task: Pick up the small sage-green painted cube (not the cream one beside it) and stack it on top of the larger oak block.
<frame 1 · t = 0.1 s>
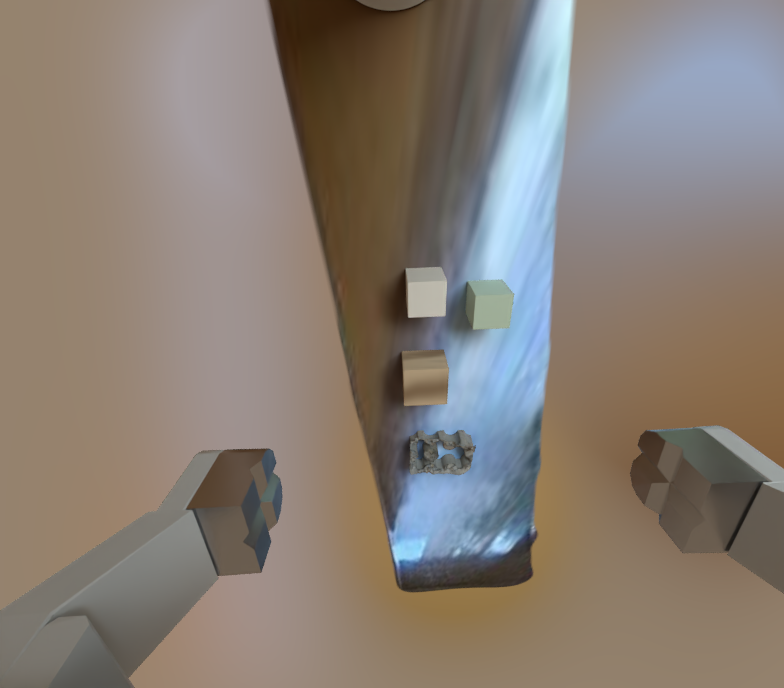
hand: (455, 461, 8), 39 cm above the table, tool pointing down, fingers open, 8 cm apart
oak block: (422, 367, 54), on the table
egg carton: (439, 443, 62), on the table
green cube: (483, 296, 48), on the table
cream cube: (423, 284, 47), on the table
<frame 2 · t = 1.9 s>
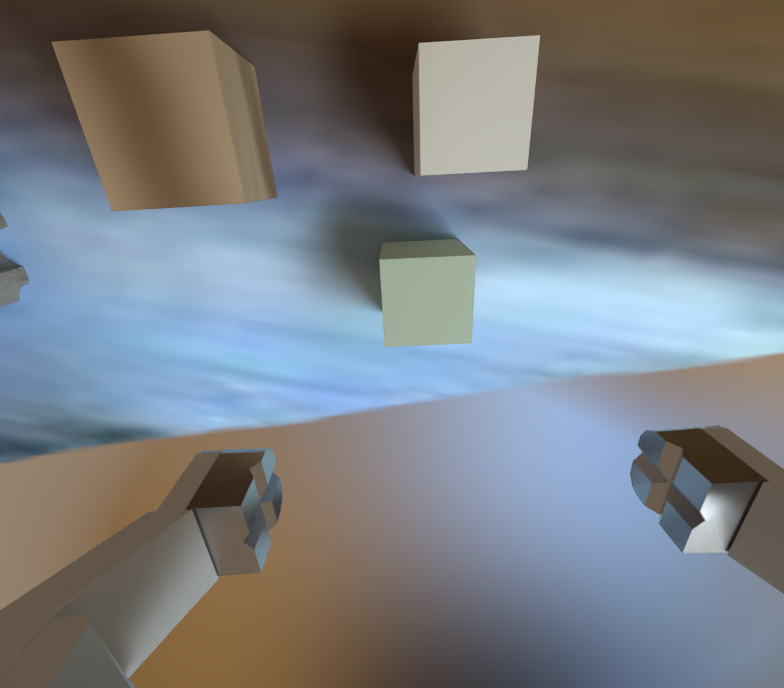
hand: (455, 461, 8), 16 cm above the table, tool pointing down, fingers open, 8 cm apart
oak block: (211, 139, 19), on the table
green cube: (420, 277, 22), on the table
cream cube: (456, 125, 19), on the table
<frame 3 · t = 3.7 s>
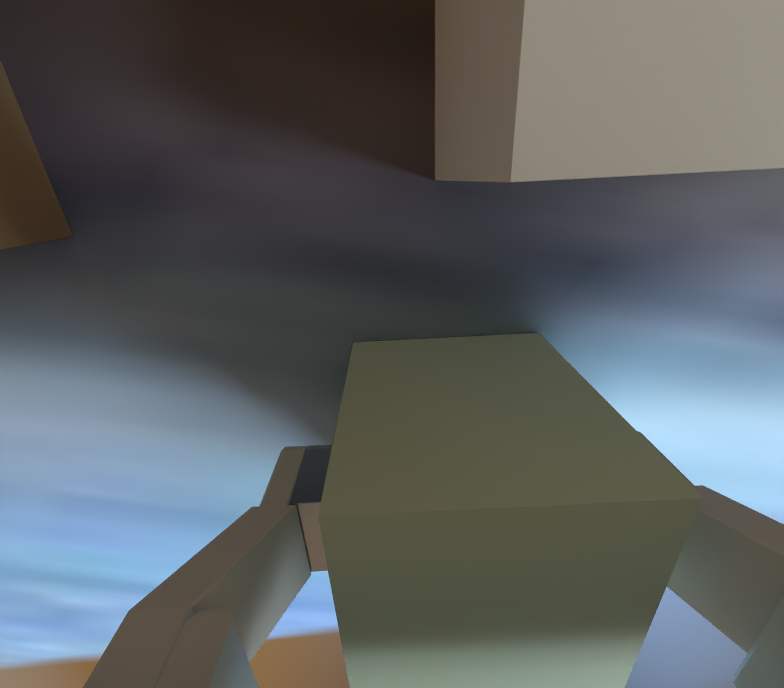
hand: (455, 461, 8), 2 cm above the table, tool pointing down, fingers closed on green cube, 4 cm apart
green cube: (444, 414, 10), on the table, touching gripper
cream cube: (560, 35, 6), on the table
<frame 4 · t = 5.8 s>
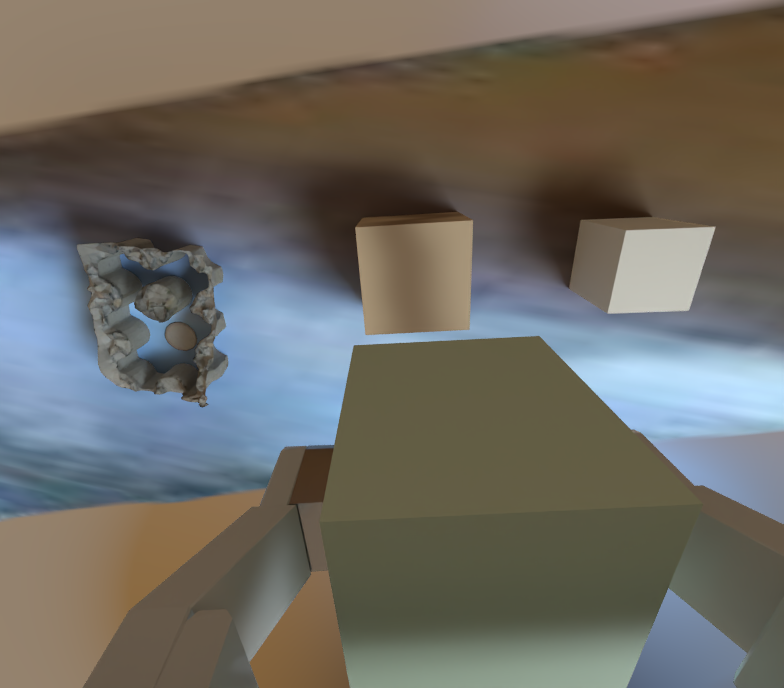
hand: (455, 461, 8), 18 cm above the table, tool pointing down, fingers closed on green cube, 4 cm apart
oak block: (411, 261, 24), on the table
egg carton: (179, 312, 26), on the table
green cube: (445, 417, 10), point 16 cm above the table, touching gripper
cream cube: (608, 254, 24), on the table
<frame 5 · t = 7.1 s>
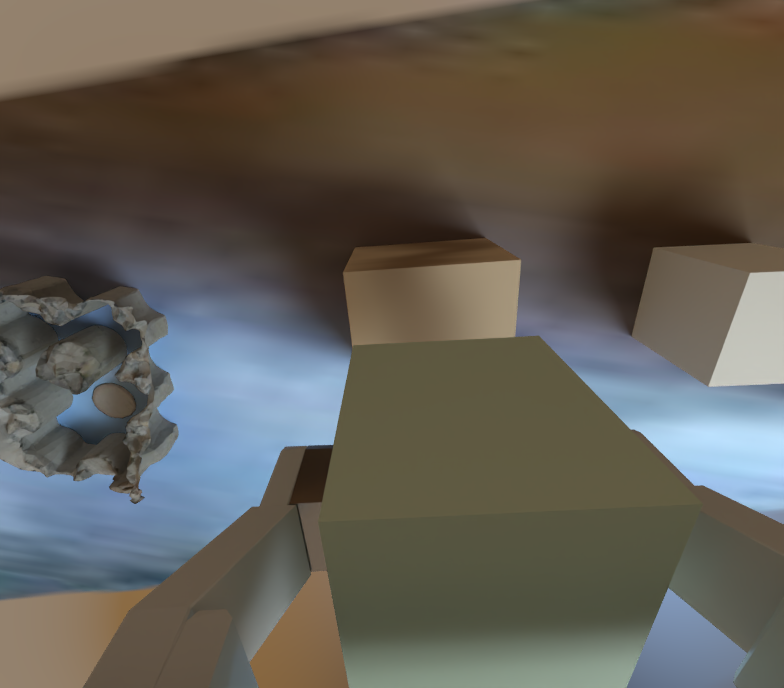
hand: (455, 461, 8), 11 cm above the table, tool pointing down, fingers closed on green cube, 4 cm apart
oak block: (422, 304, 18), on the table
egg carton: (111, 370, 20), on the table
green cube: (444, 417, 10), point 9 cm above the table, touching gripper
cream cube: (687, 291, 18), on the table
when the fingers open (8 cm above the table, at t = 8.0 s): green cube drops 1 cm, resting on oak block.
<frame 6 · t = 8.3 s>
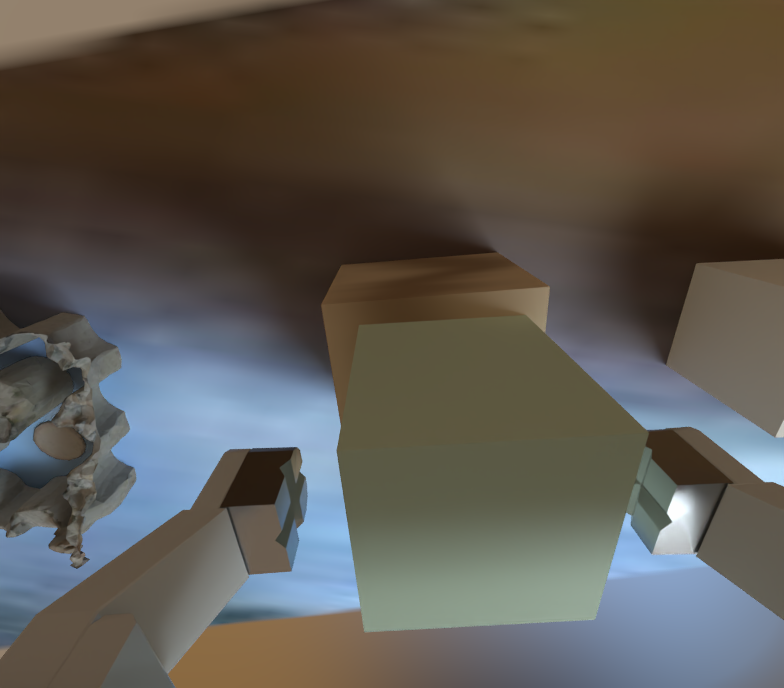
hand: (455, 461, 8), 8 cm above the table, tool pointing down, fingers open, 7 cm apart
oak block: (422, 329, 15), on the table, touching green cube
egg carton: (57, 405, 17), on the table
green cube: (442, 391, 11), point 5 cm above the table, touching oak block
cream cube: (733, 314, 15), on the table
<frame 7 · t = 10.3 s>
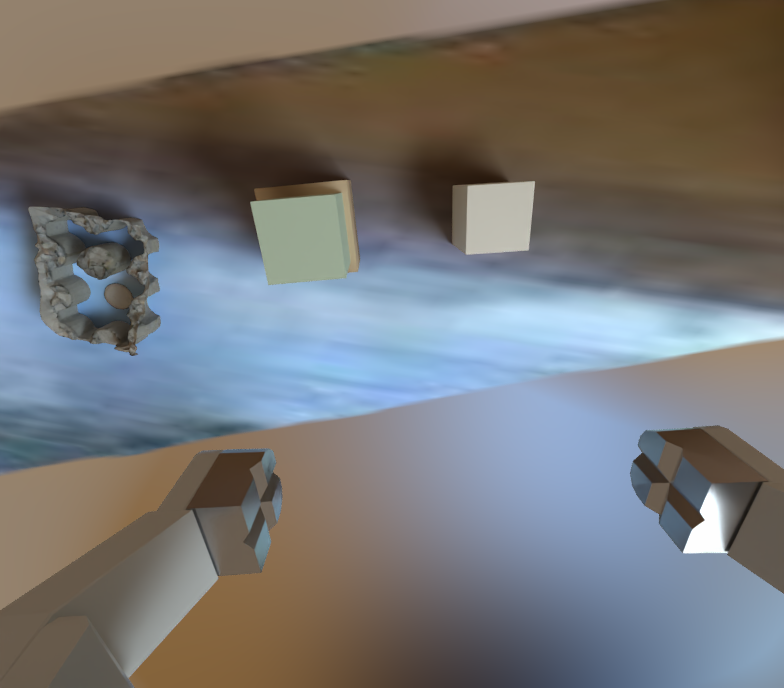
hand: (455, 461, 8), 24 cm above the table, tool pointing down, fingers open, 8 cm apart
oak block: (318, 224, 29), on the table, touching green cube
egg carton: (118, 275, 30), on the table
green cube: (313, 231, 25), point 5 cm above the table, touching oak block
cream cube: (479, 213, 30), on the table
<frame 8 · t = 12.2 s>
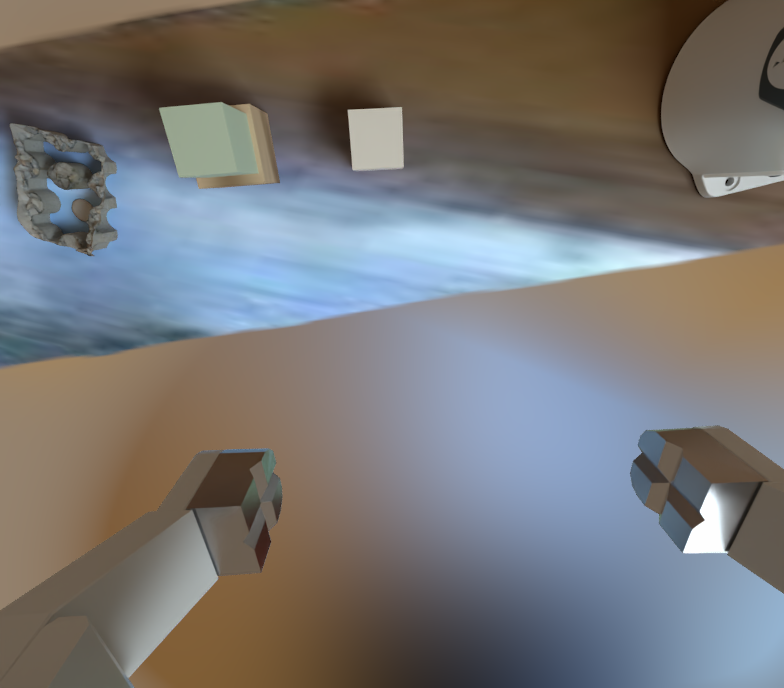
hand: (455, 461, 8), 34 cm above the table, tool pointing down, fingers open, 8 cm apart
oak block: (243, 152, 36), on the table, touching green cube
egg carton: (84, 193, 37), on the table
green cube: (226, 146, 31), point 5 cm above the table, touching oak block
cream cube: (377, 144, 36), on the table
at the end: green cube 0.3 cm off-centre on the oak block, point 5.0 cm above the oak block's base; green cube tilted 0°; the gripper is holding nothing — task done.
